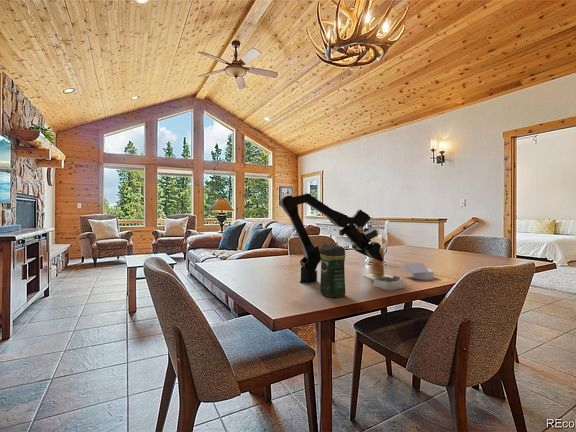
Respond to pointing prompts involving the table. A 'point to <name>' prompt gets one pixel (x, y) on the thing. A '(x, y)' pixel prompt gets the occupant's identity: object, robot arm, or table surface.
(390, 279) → the white open box
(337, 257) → the coffee jar
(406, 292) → the table surface
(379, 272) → the brown cylinder
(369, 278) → the mat
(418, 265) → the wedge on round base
